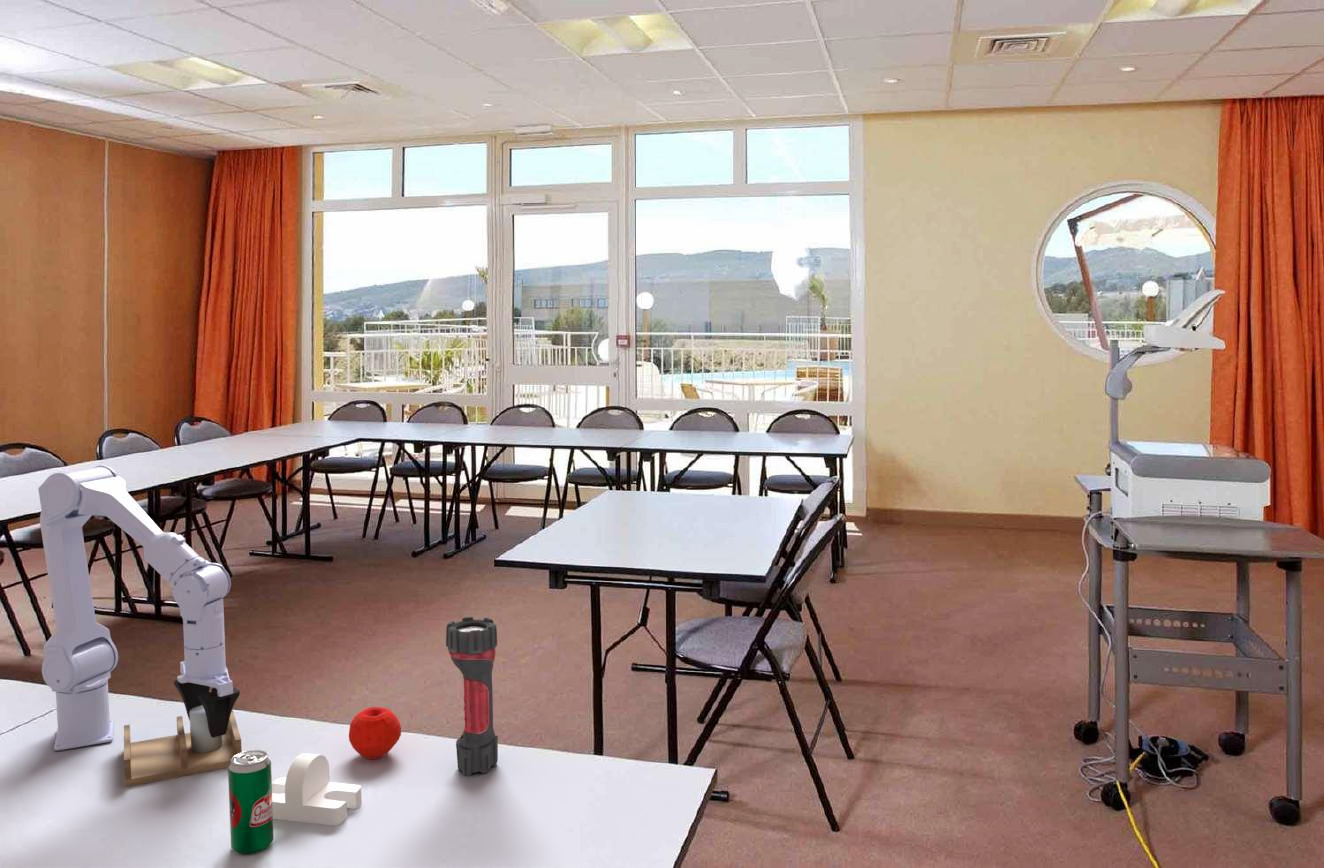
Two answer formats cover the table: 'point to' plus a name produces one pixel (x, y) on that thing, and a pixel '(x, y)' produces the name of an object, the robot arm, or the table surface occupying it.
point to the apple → (374, 732)
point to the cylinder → (202, 732)
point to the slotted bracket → (313, 793)
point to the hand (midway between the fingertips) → (208, 728)
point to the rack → (175, 755)
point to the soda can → (250, 802)
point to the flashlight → (475, 691)
